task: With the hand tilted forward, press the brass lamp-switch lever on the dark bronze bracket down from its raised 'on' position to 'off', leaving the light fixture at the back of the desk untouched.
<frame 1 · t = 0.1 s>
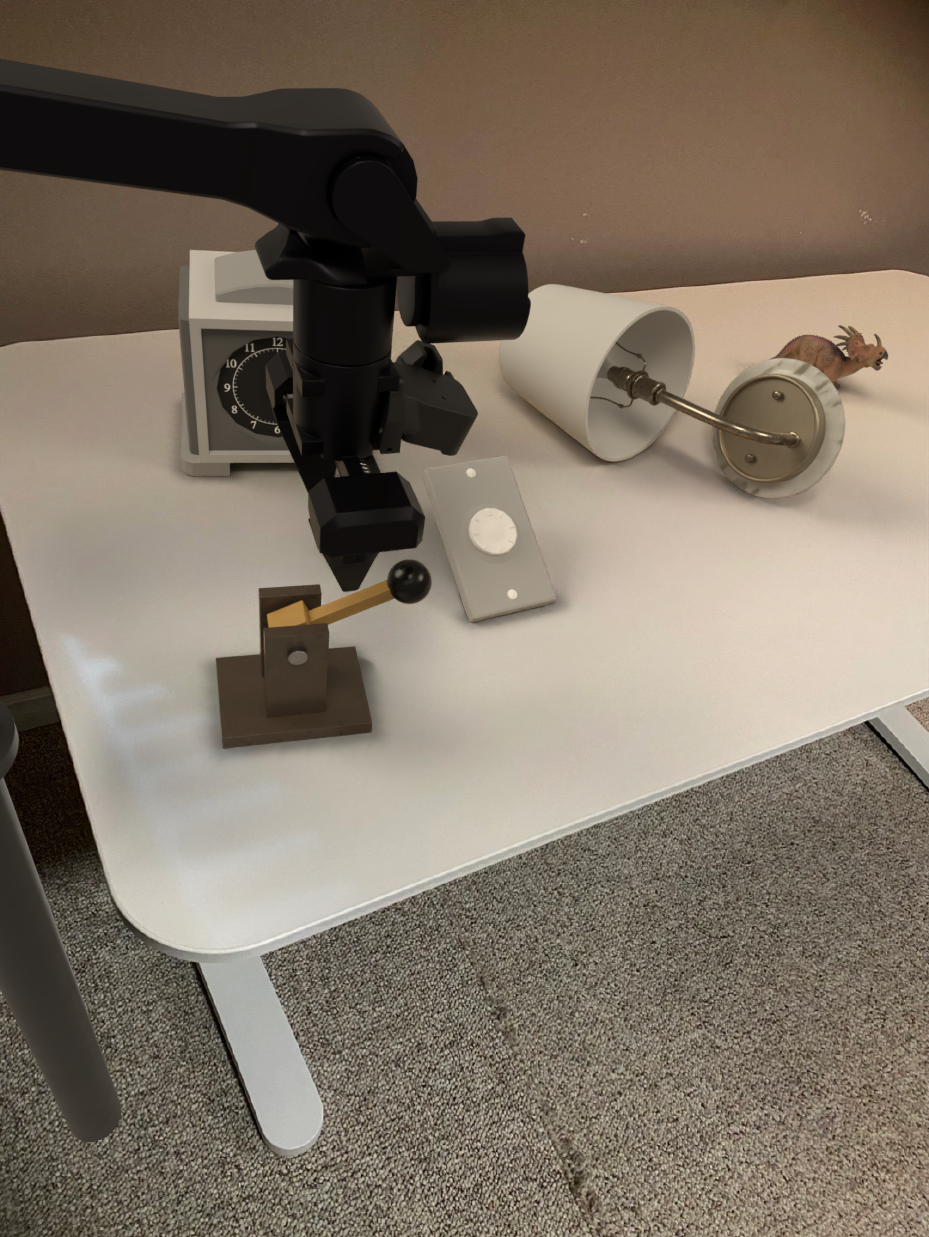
hand: (334, 545, 65), 14 cm above the table, tool pointing down, fingers open, 9 cm apart
alarm clock: (275, 439, 96), on the table
lever: (352, 604, 66), point 10 cm above the table, hinge at 25.0°
dinosaur figurine: (806, 388, 120), on the table
light fixture: (639, 455, 104), on the table
light switch: (482, 569, 86), on the table
switch bracket: (292, 699, 72), on the table
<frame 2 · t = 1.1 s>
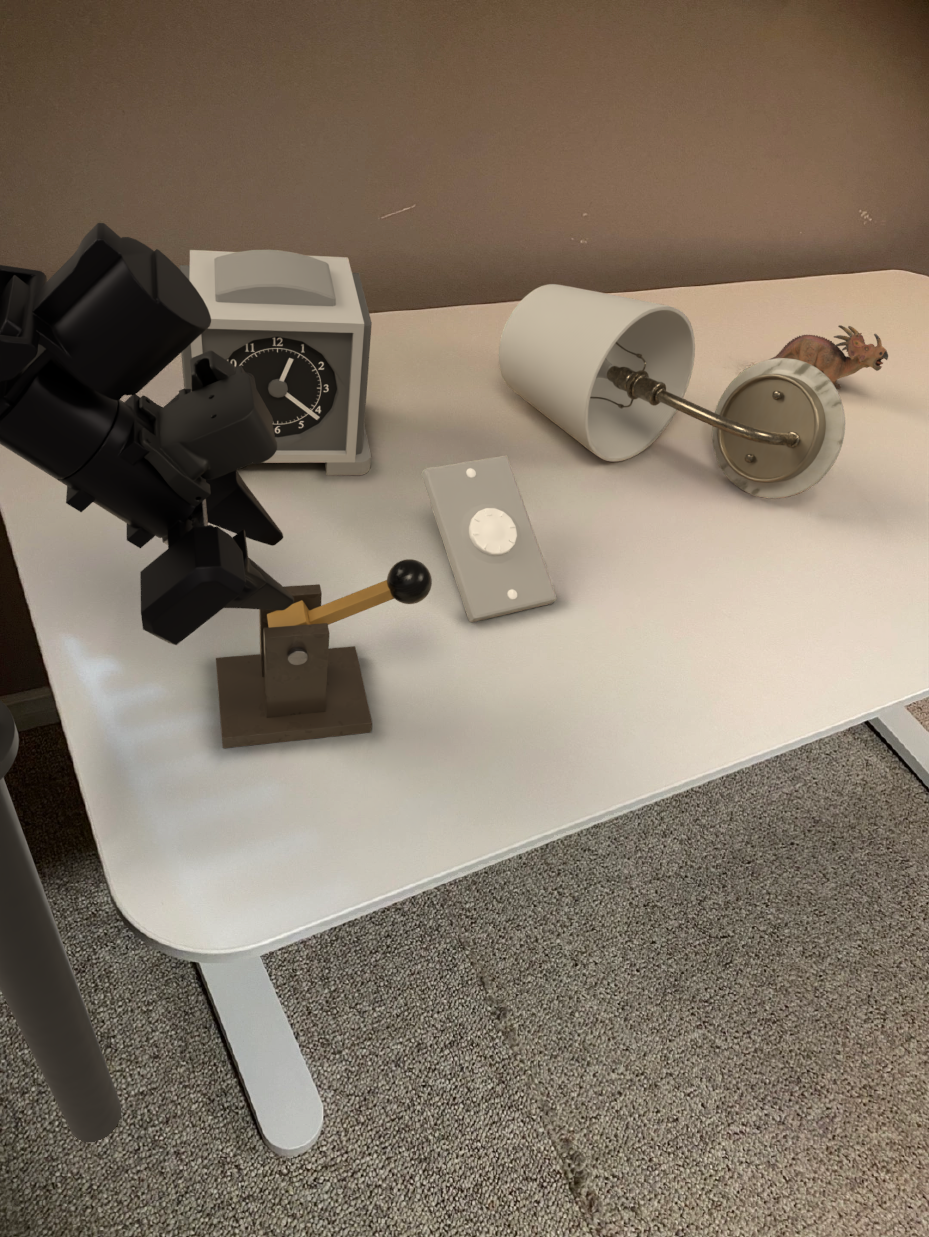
hand: (283, 571, 63), 13 cm above the table, tool tilted 45°, fingers open, 6 cm apart
nothing on the table moved.
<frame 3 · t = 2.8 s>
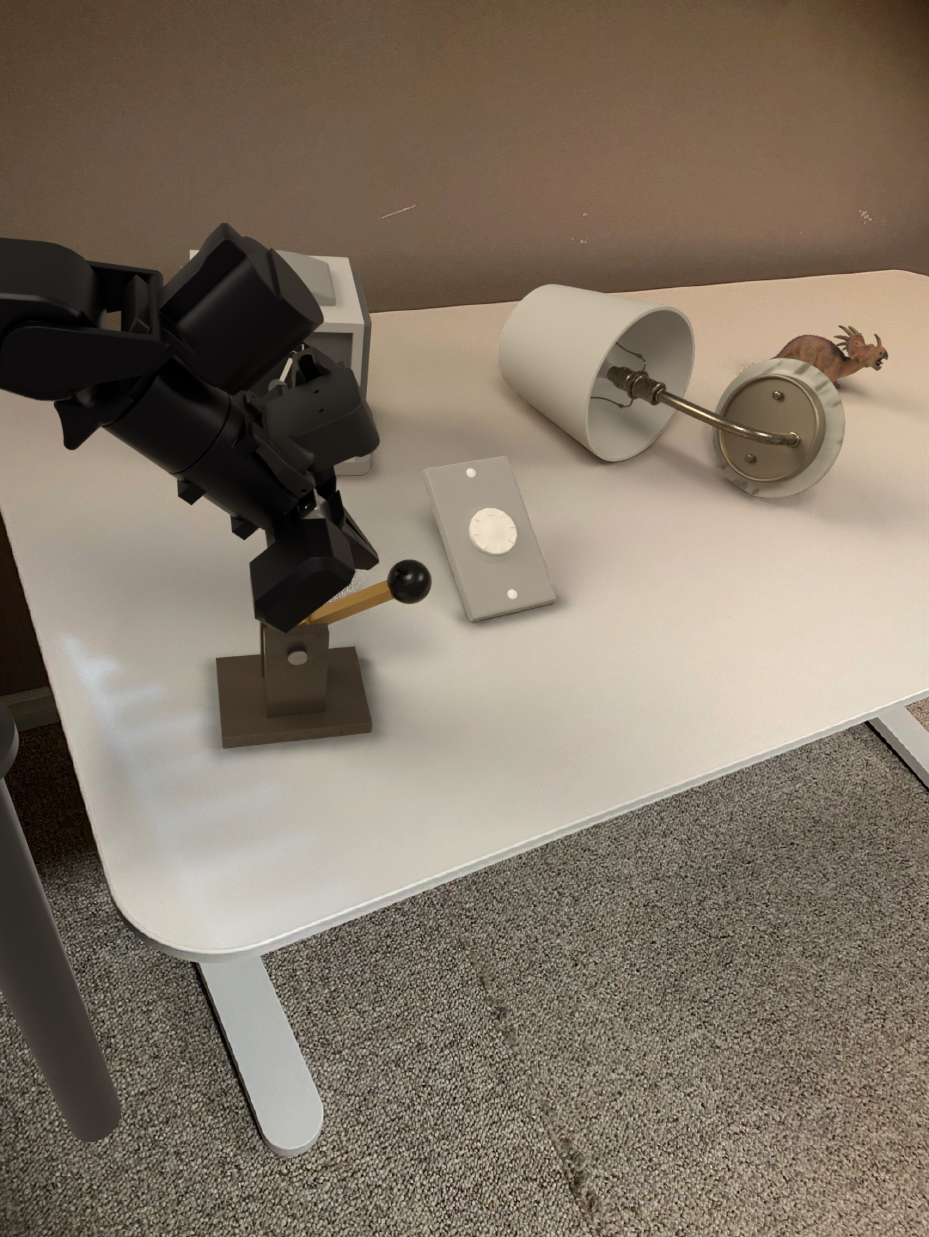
hand: (373, 562, 64), 14 cm above the table, tool tilted 45°, fingers closed
nothing on the table moved.
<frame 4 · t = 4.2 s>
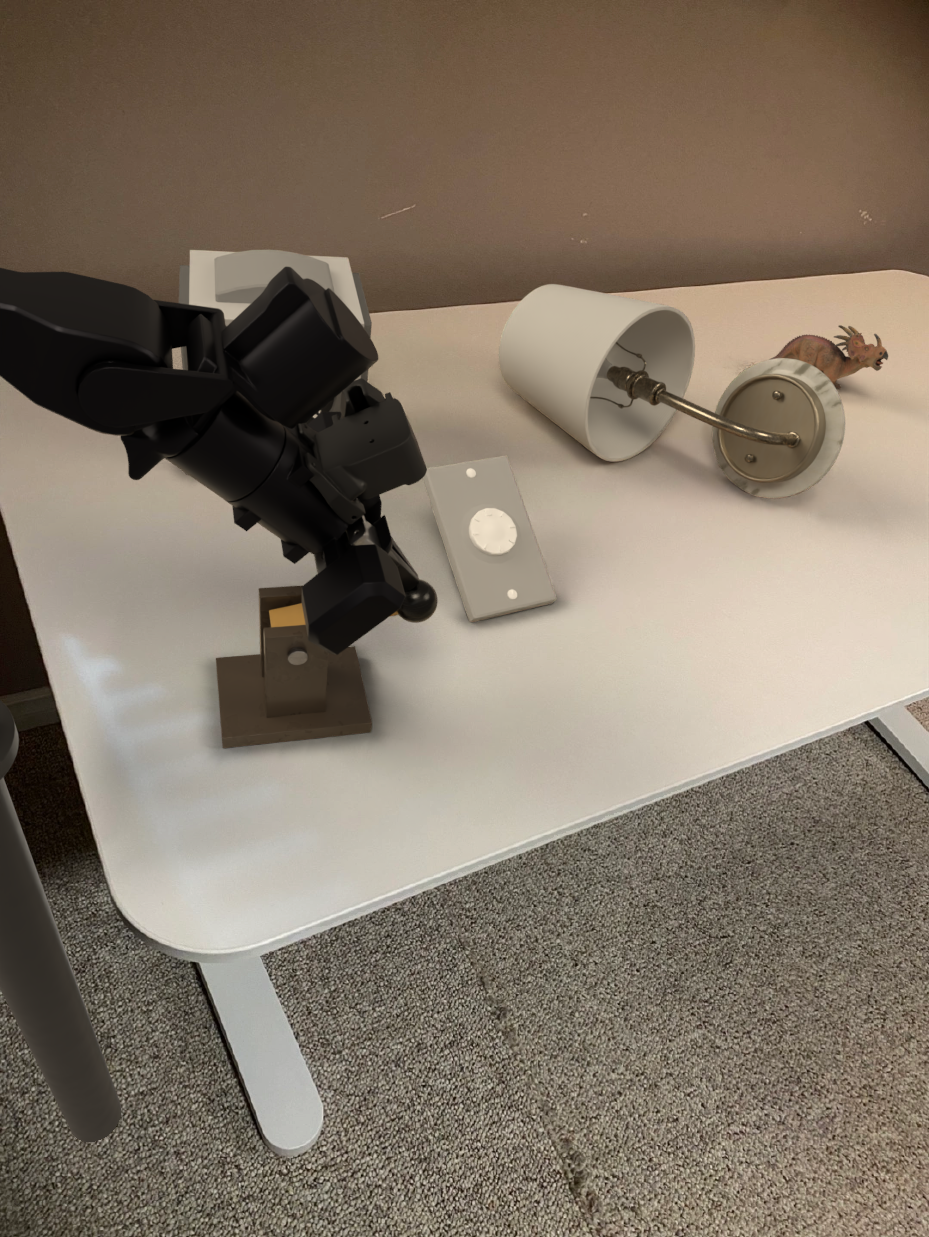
hand: (414, 583, 66), 12 cm above the table, tool tilted 45°, fingers closed
lever: (356, 613, 67), point 9 cm above the table, hinge at 11.8°, touching gripper
everything else where it was.
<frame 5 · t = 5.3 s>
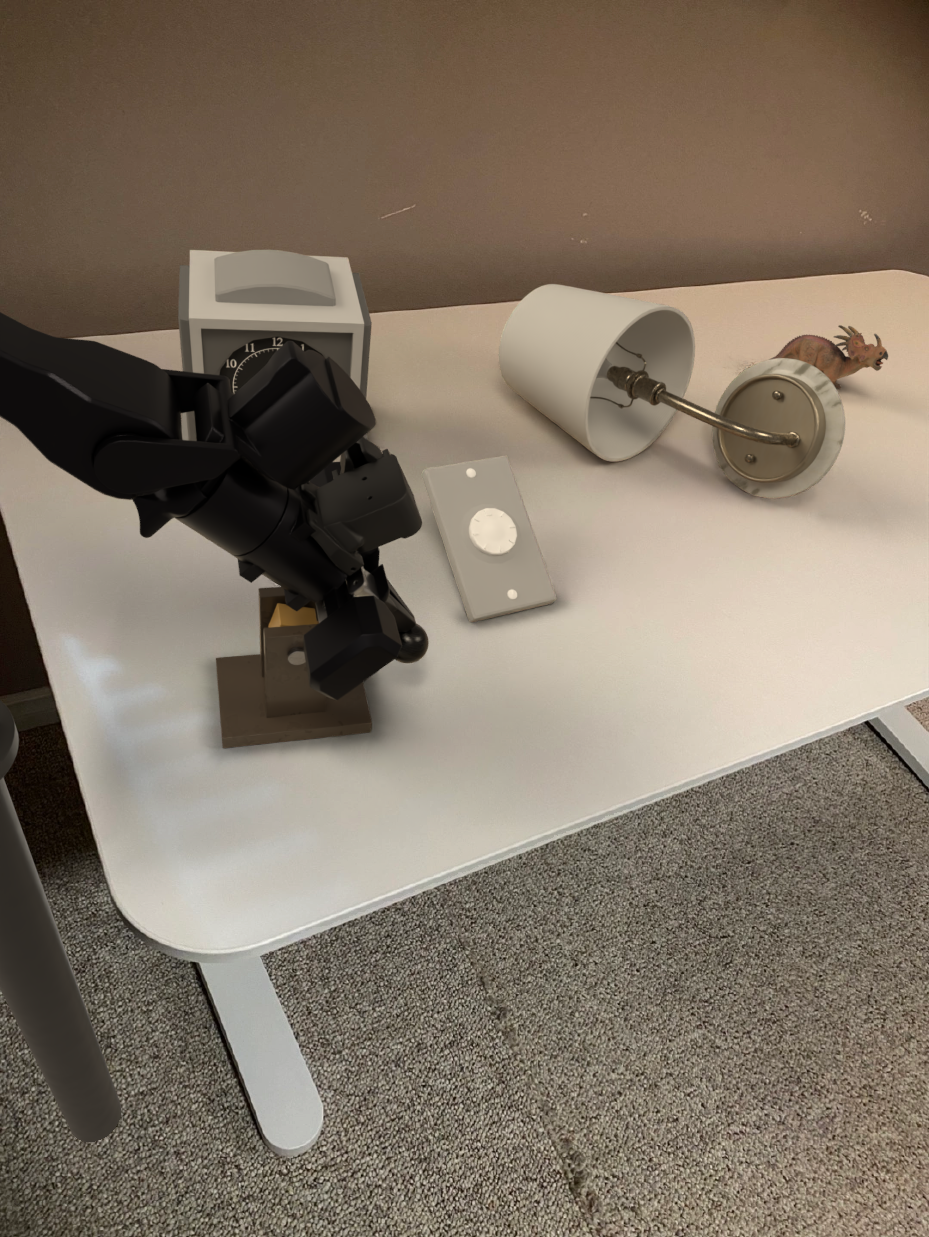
hand: (410, 624, 69), 7 cm above the table, tool tilted 45°, fingers closed, pressing on switch bracket
lever: (353, 635, 69), point 7 cm above the table, hinge at -16.5°
everything else where it was.
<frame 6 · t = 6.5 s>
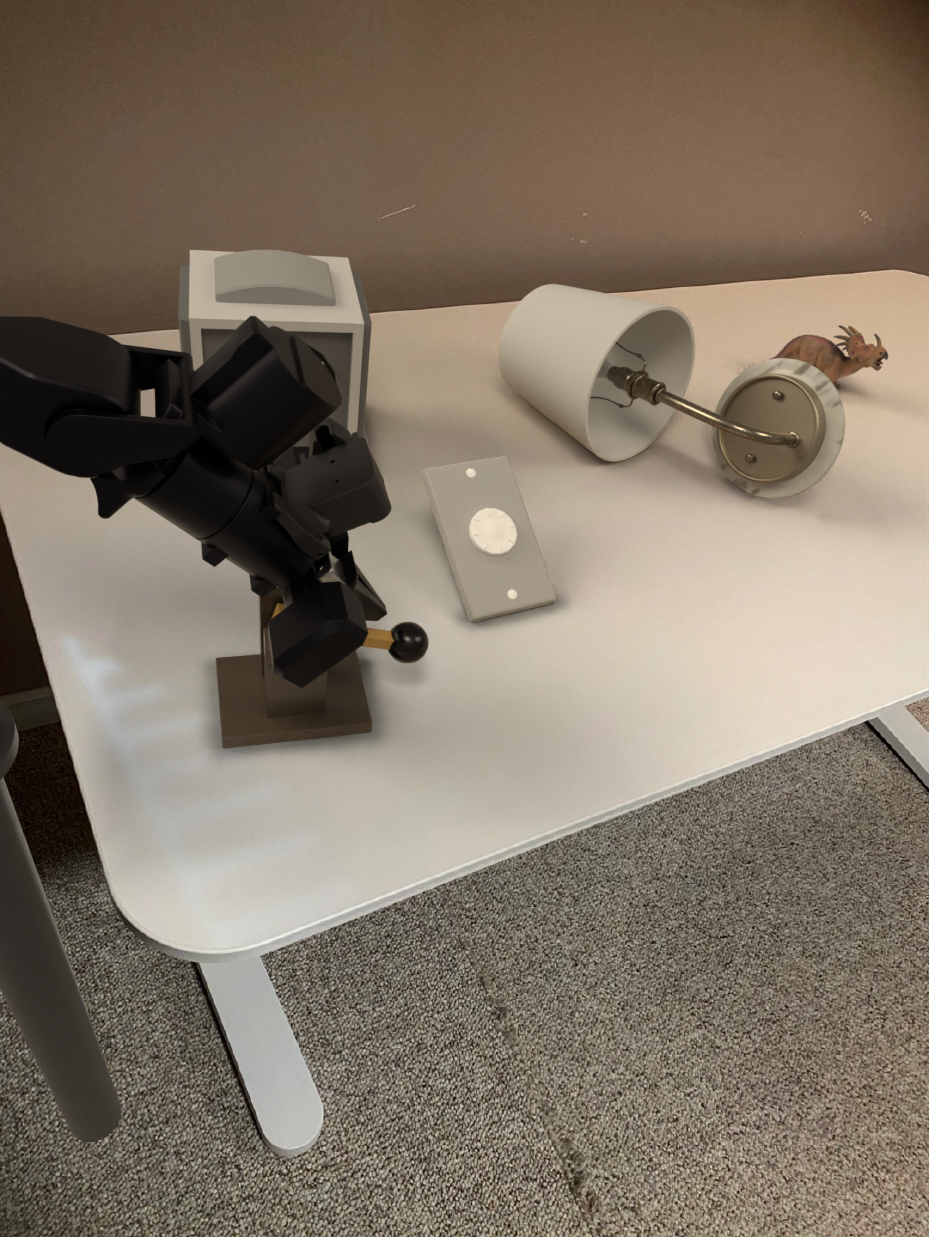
hand: (382, 614, 68), 9 cm above the table, tool tilted 45°, fingers closed
nothing on the table moved.
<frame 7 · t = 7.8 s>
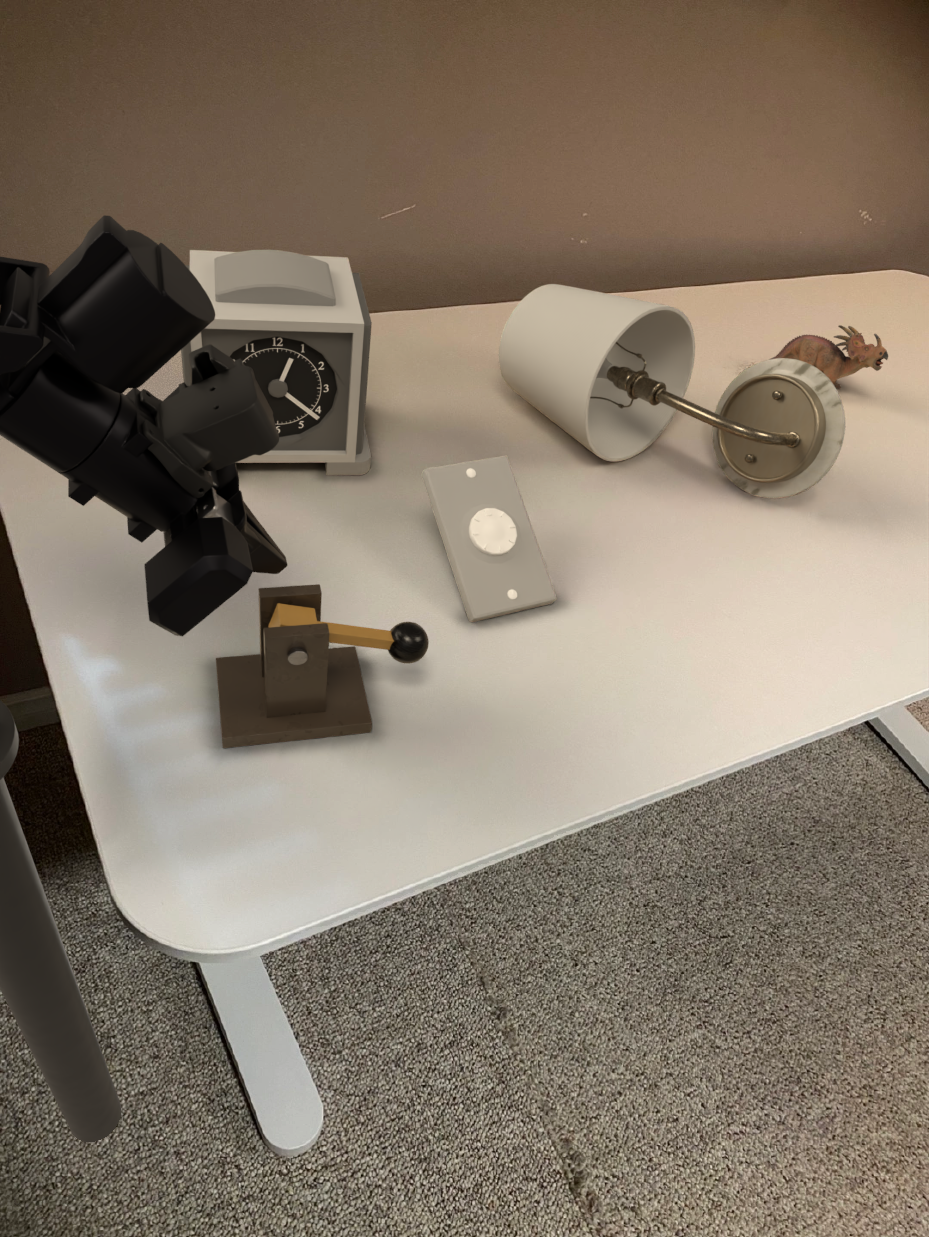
hand: (282, 566, 63), 14 cm above the table, tool tilted 45°, fingers closed
nothing on the table moved.
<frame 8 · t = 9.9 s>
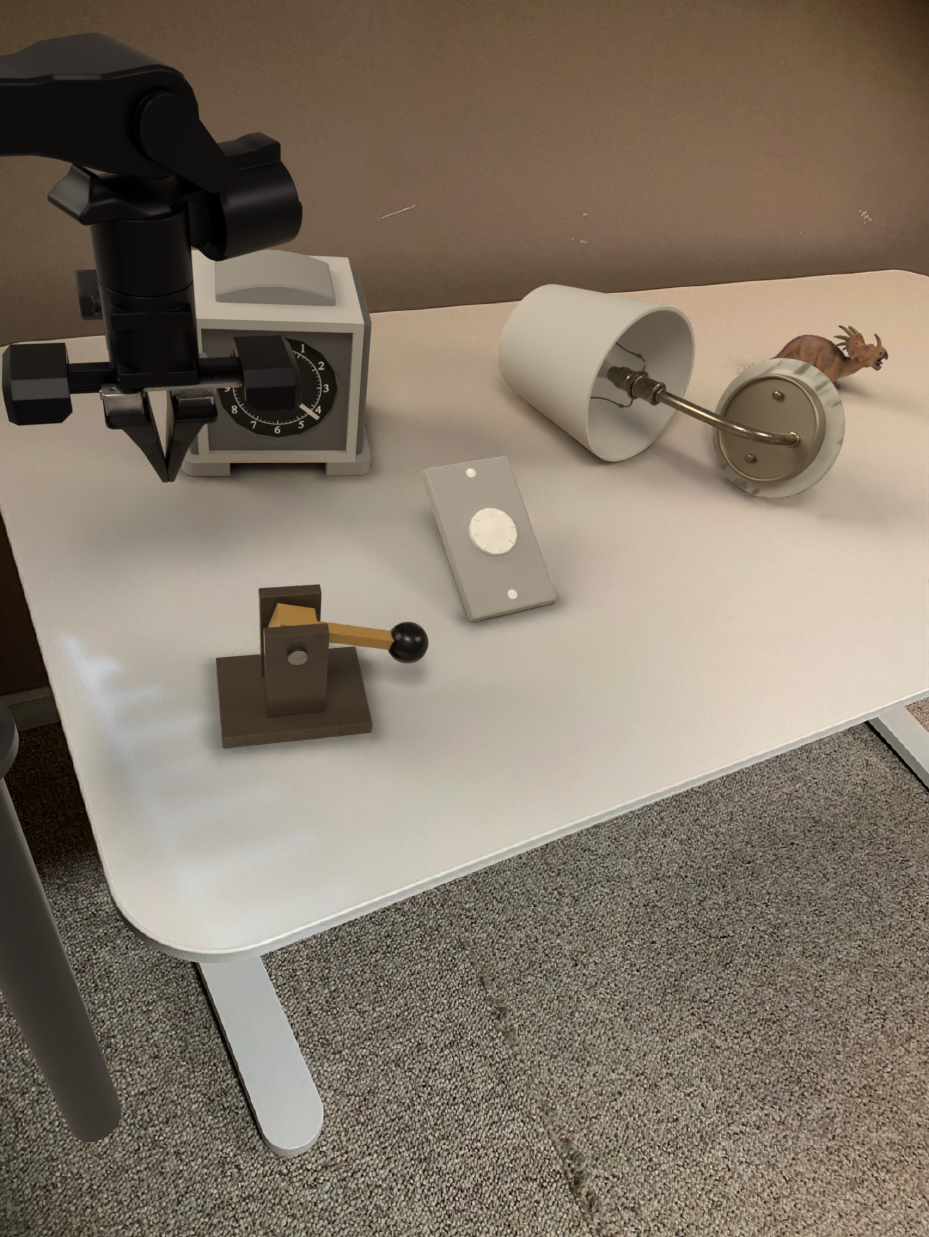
hand: (167, 479, 69), 13 cm above the table, tool pointing down, fingers closed
nothing on the table moved.
at the end: lever at -17° (first picture: +25°); light fixture moved 0.2 cm from its start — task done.
